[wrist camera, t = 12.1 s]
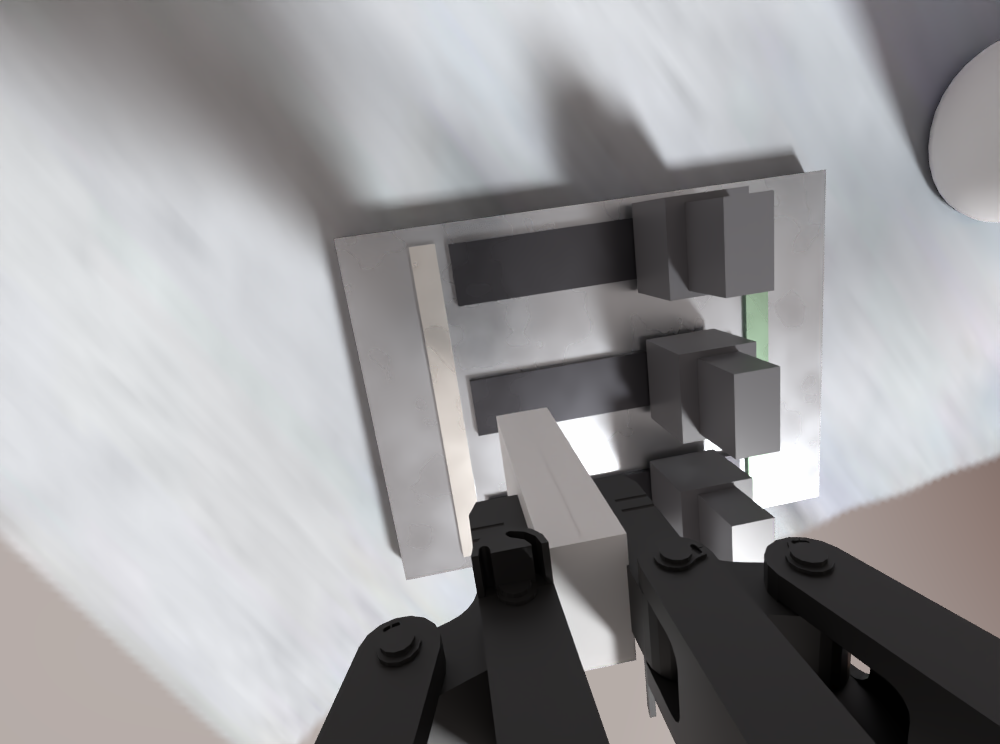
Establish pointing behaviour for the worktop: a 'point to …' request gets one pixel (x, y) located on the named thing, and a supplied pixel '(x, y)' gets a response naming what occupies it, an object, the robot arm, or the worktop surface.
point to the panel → (560, 352)
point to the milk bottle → (970, 139)
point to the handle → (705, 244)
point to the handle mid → (715, 391)
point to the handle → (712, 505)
